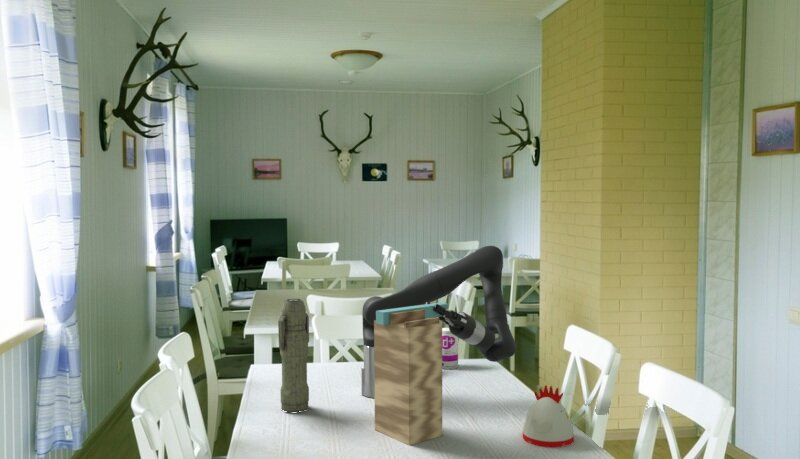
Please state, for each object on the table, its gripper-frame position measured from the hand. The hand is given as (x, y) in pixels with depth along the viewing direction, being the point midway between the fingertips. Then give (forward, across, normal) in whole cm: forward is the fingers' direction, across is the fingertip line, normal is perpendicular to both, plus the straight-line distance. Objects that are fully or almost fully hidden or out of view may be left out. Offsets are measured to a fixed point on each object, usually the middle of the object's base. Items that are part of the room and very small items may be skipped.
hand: (430, 306), depth 212 cm
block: (+4, 0, +6) cm, 7 cm away
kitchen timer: (-33, +30, +22) cm, 50 cm away
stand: (-8, +2, +36) cm, 37 cm away
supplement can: (-60, -48, +6) cm, 77 cm away
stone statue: (+4, -38, +43) cm, 57 cm away
